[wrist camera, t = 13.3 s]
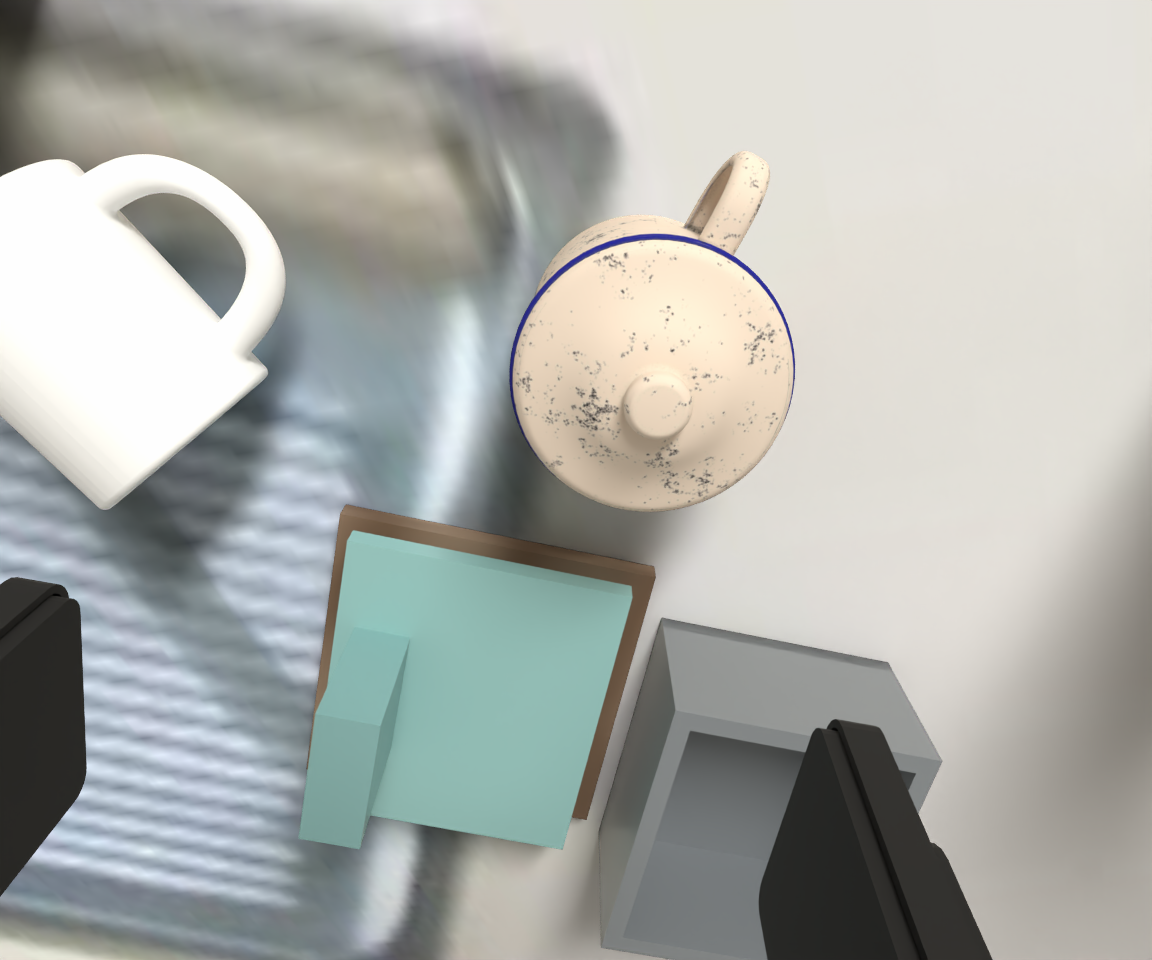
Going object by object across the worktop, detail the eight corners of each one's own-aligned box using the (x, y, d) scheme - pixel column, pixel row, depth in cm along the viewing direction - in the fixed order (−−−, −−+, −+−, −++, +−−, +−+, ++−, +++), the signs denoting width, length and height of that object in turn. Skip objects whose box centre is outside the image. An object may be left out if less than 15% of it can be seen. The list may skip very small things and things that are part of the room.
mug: (165, 463, 39) (67, 544, 32) (-21, 281, 36) (-175, 323, 29) (366, 292, 36) (310, 338, 29) (182, 80, 34) (68, 70, 26)
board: (654, 566, 41) (655, 577, 40) (586, 805, 46) (586, 819, 45) (346, 504, 40) (340, 513, 39) (312, 755, 45) (306, 769, 44)
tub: (887, 662, 43) (942, 761, 36) (803, 868, 47) (837, 988, 41) (661, 617, 42) (675, 710, 35) (598, 831, 47) (600, 947, 40)
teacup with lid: (679, 464, 39) (715, 598, 28) (489, 370, 37) (449, 473, 27) (833, 207, 35) (944, 248, 24) (626, 90, 33) (645, 78, 23)
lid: (630, 572, 40) (640, 681, 32) (563, 816, 45) (558, 959, 37) (359, 518, 39) (304, 616, 31) (323, 772, 44) (268, 909, 36)
